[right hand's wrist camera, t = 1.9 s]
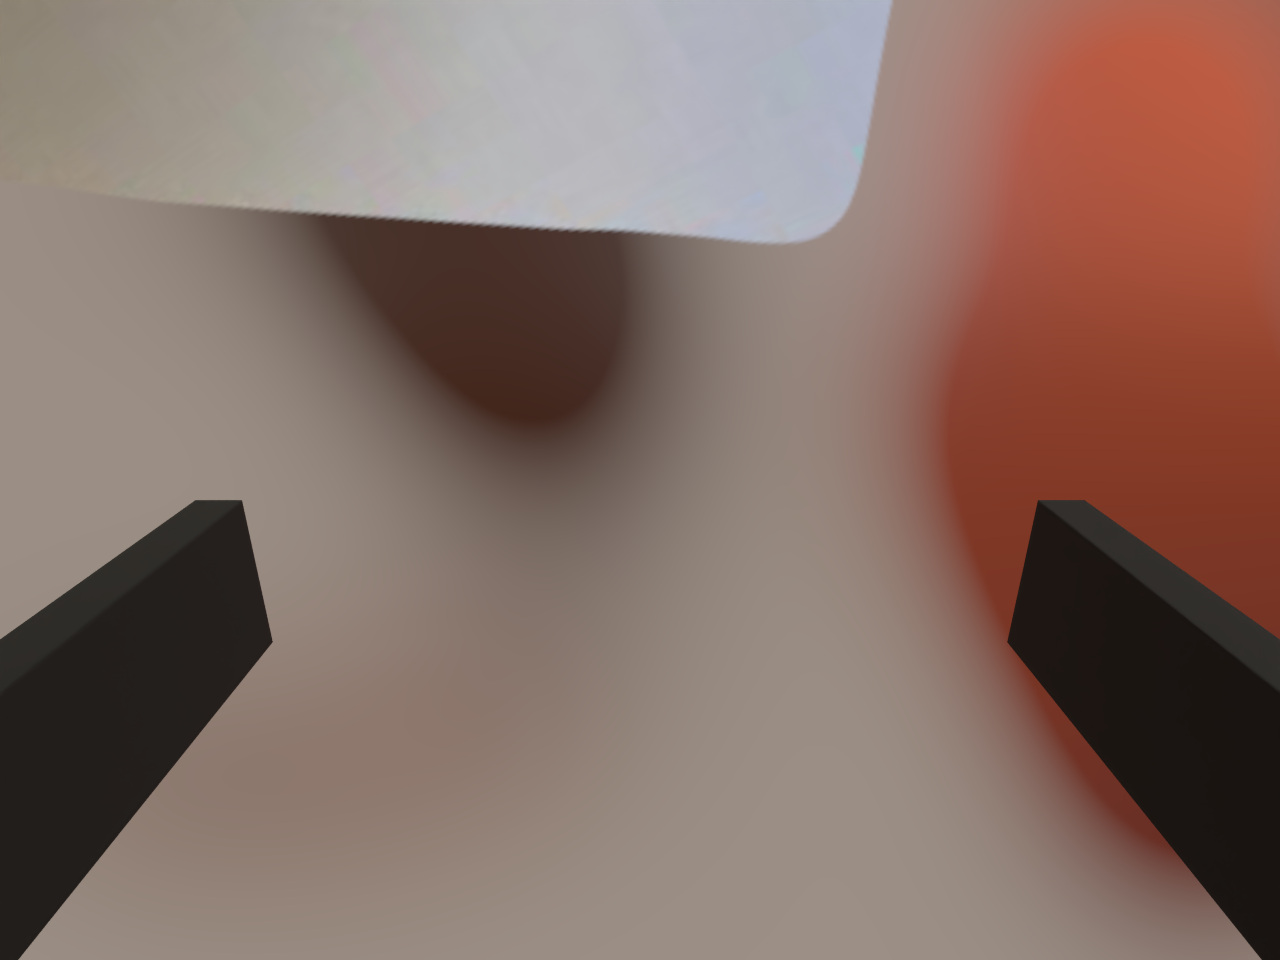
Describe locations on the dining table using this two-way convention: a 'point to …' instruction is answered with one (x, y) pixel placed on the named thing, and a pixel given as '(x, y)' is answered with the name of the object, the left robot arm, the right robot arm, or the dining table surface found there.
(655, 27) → the dining table surface
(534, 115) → the dining table surface
